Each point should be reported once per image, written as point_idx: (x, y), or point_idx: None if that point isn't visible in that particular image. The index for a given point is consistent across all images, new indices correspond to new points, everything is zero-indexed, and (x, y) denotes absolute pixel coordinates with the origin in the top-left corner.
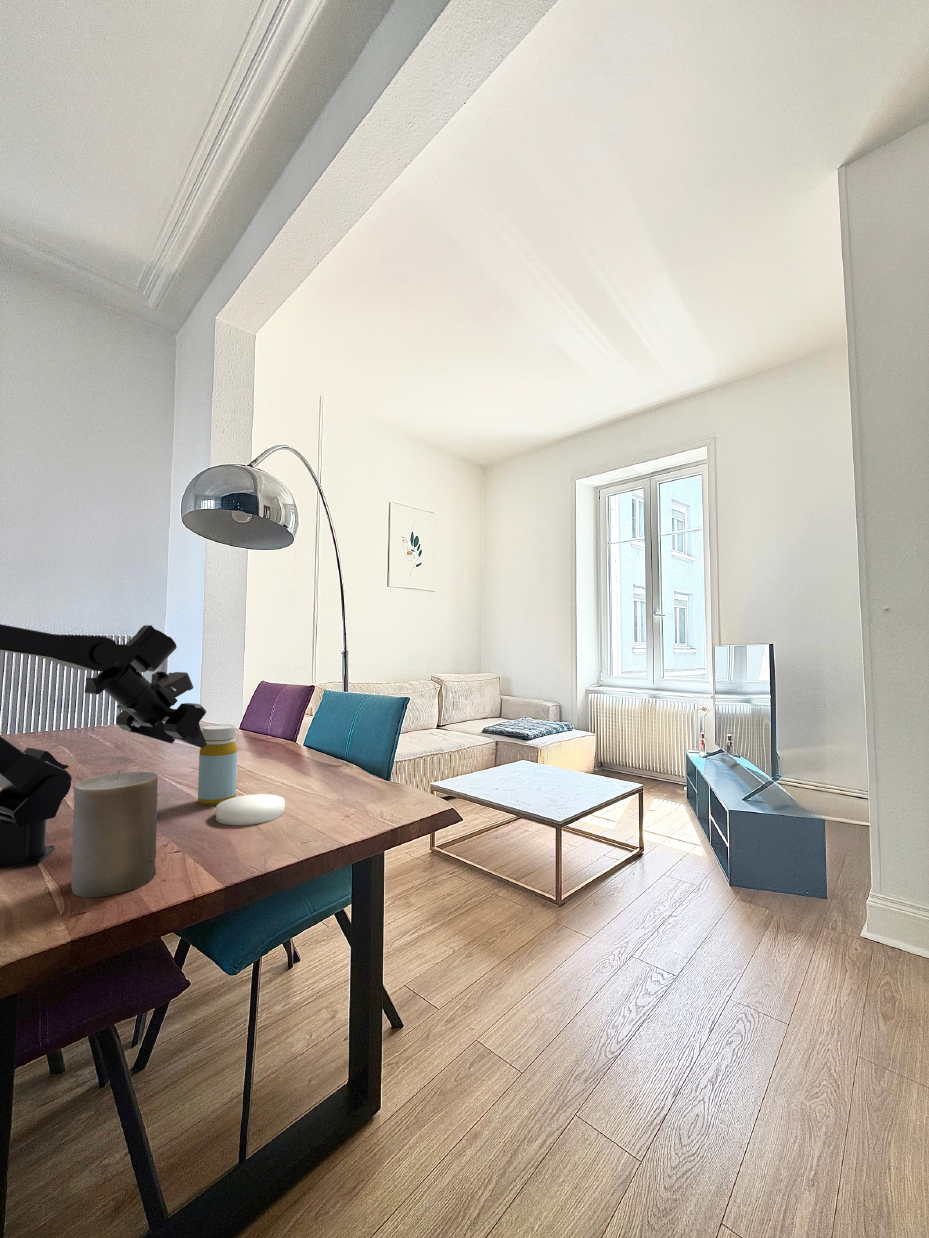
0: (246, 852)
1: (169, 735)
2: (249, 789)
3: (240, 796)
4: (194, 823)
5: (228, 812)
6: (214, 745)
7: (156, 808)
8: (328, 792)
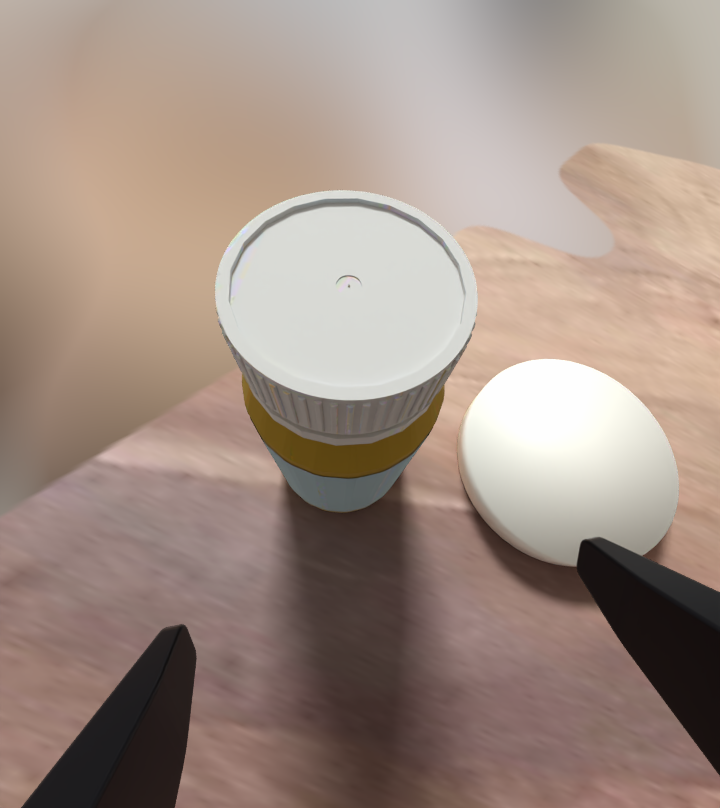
0: None
1: (163, 721)
2: None
3: (470, 431)
4: (528, 629)
5: None
6: (421, 415)
7: None
8: (501, 237)
